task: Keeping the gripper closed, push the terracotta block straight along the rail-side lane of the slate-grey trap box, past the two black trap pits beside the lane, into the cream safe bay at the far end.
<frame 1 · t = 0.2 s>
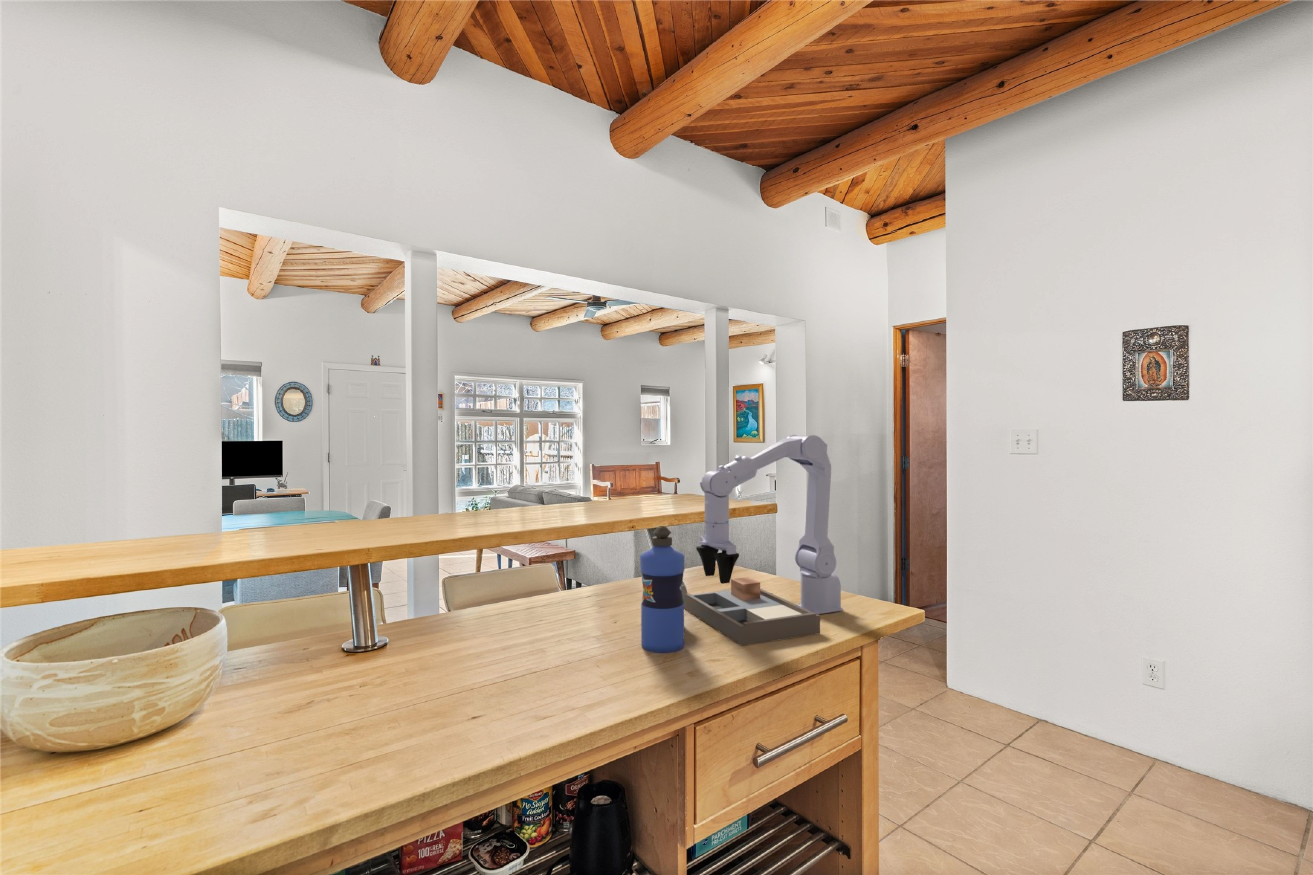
hand: (717, 579, 143), 10 cm above the worktop, tool pointing down, fingers open, 7 cm apart
food container: (674, 627, 139), on the worktop
water bottle: (662, 646, 128), on the worktop
trap box: (746, 619, 144), on the worktop
block: (745, 596, 153), point 3 cm above the worktop, touching trap box
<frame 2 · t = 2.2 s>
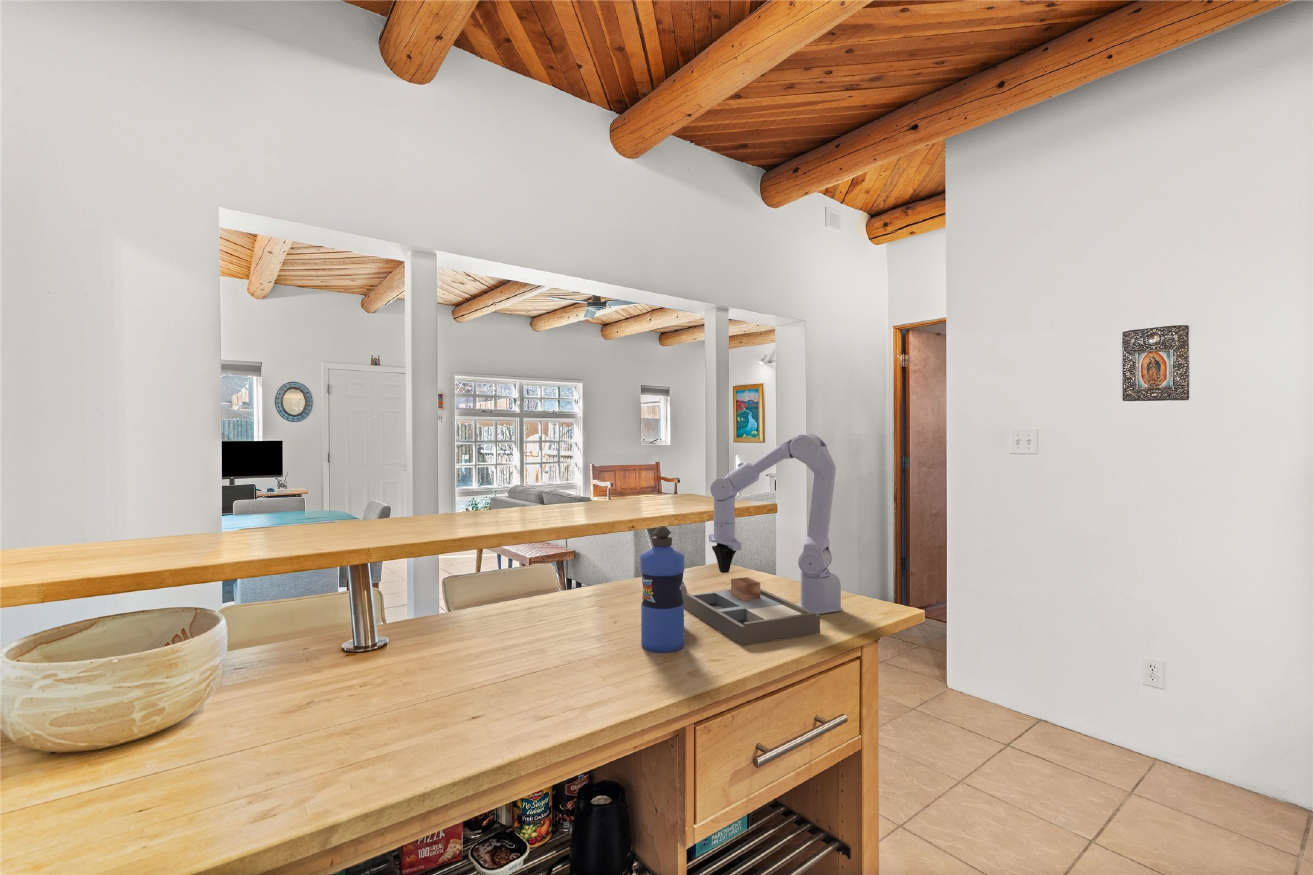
hand: (724, 572, 164), 7 cm above the worktop, tool pointing down, fingers closed
nothing on the worktop moved.
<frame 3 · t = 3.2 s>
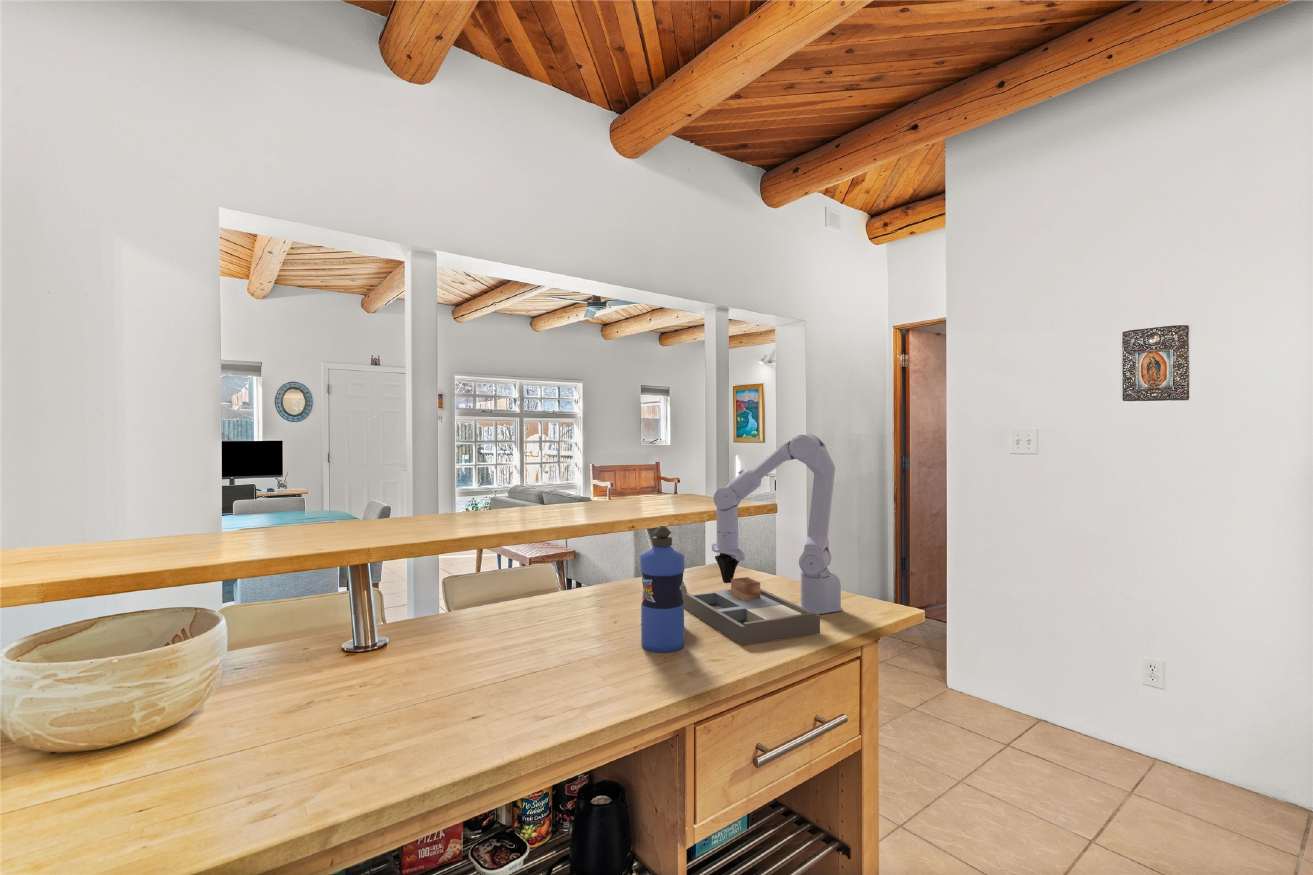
hand: (727, 582, 162), 4 cm above the worktop, tool pointing down, fingers closed
nothing on the worktop moved.
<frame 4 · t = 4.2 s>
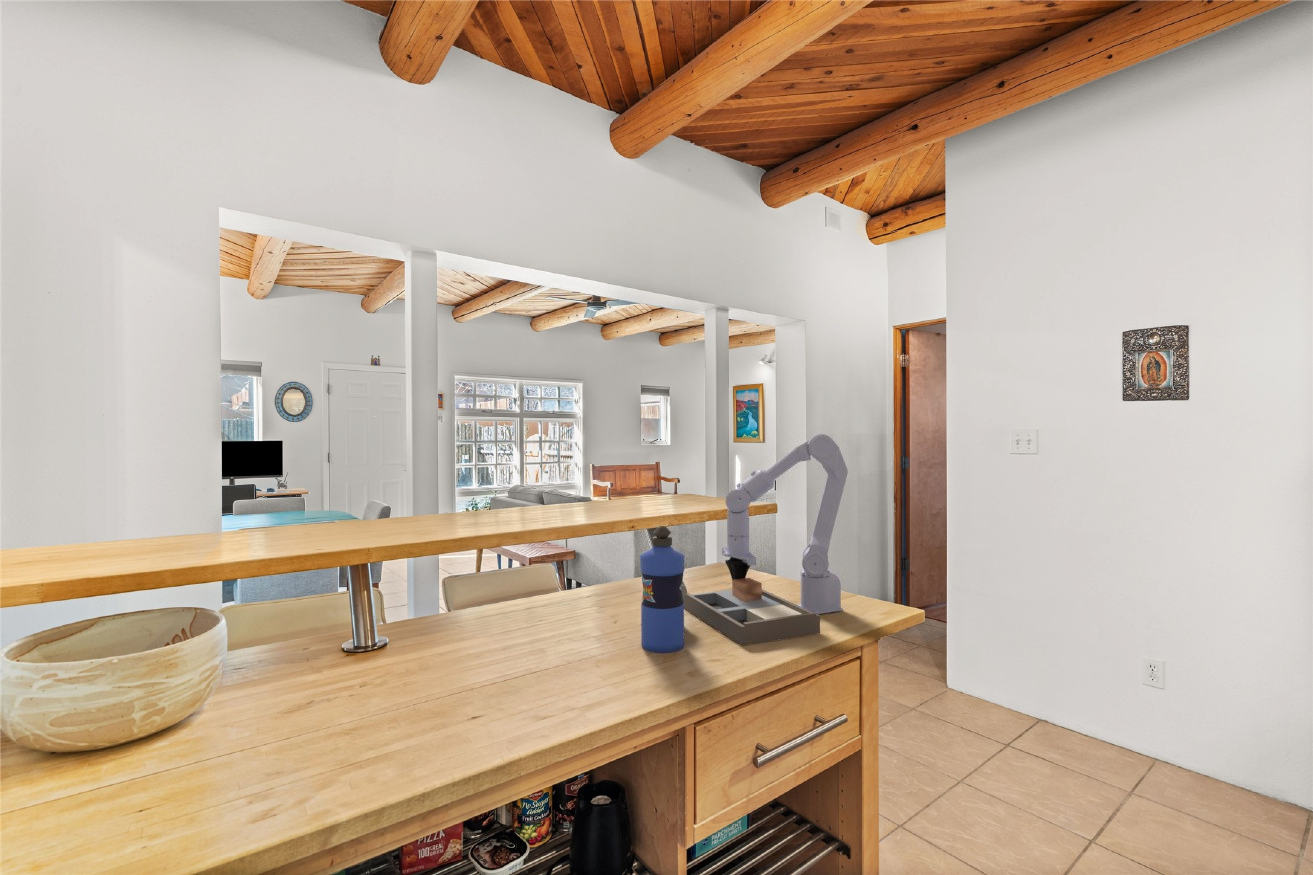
hand: (738, 587, 157), 4 cm above the worktop, tool pointing down, fingers closed
block: (746, 597, 153), point 3 cm above the worktop, touching gripper
everything else where it was.
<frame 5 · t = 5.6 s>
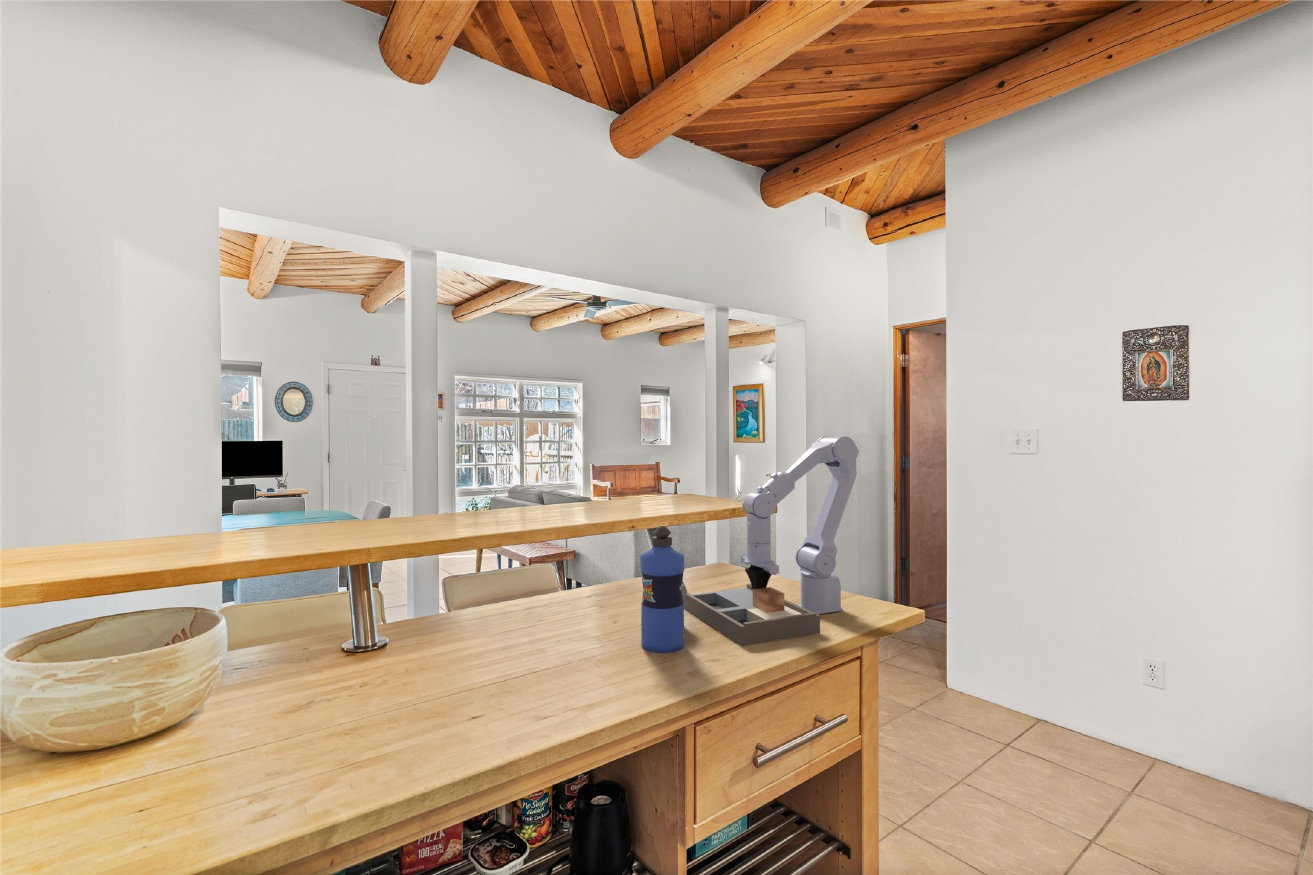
hand: (759, 597, 147), 4 cm above the worktop, tool pointing down, fingers closed
block: (768, 607, 143), point 3 cm above the worktop, touching gripper, trap box
everything else where it was.
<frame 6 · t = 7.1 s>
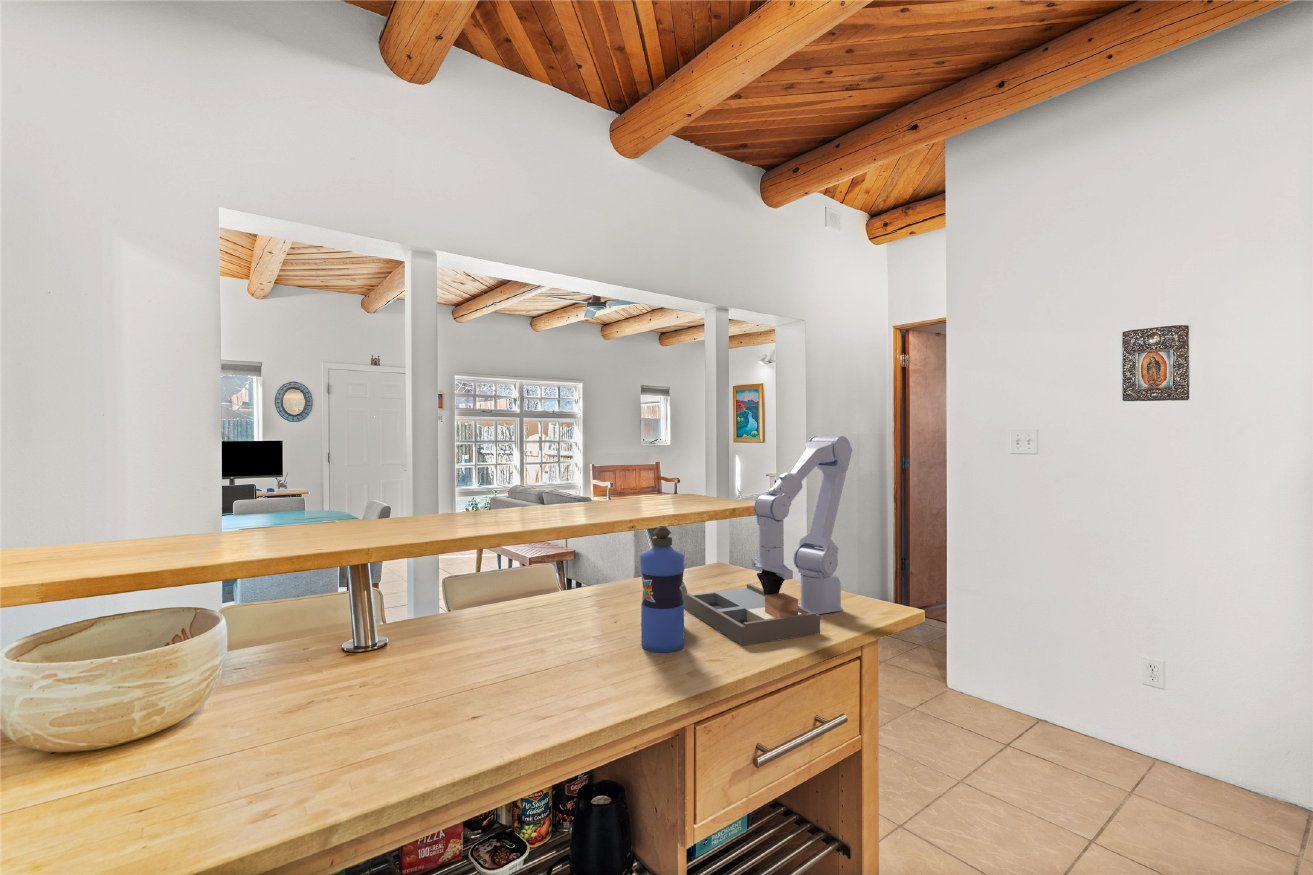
hand: (771, 603, 142), 4 cm above the worktop, tool pointing down, fingers closed
block: (781, 614, 138), point 3 cm above the worktop, touching gripper, trap box
everything else where it was.
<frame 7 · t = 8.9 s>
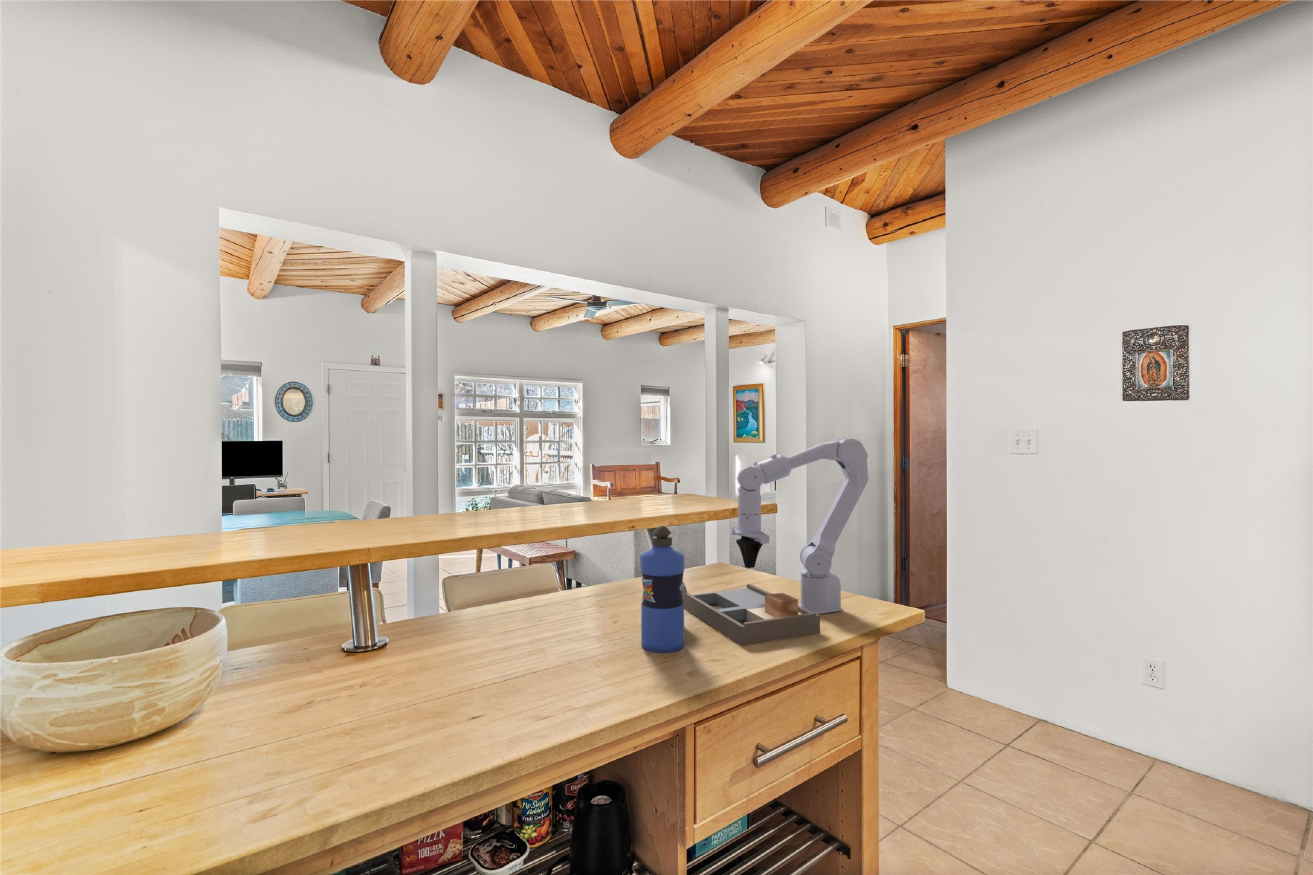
hand: (749, 567, 153), 10 cm above the worktop, tool pointing down, fingers closed
block: (781, 614, 138), point 3 cm above the worktop, touching trap box
everything else where it was.
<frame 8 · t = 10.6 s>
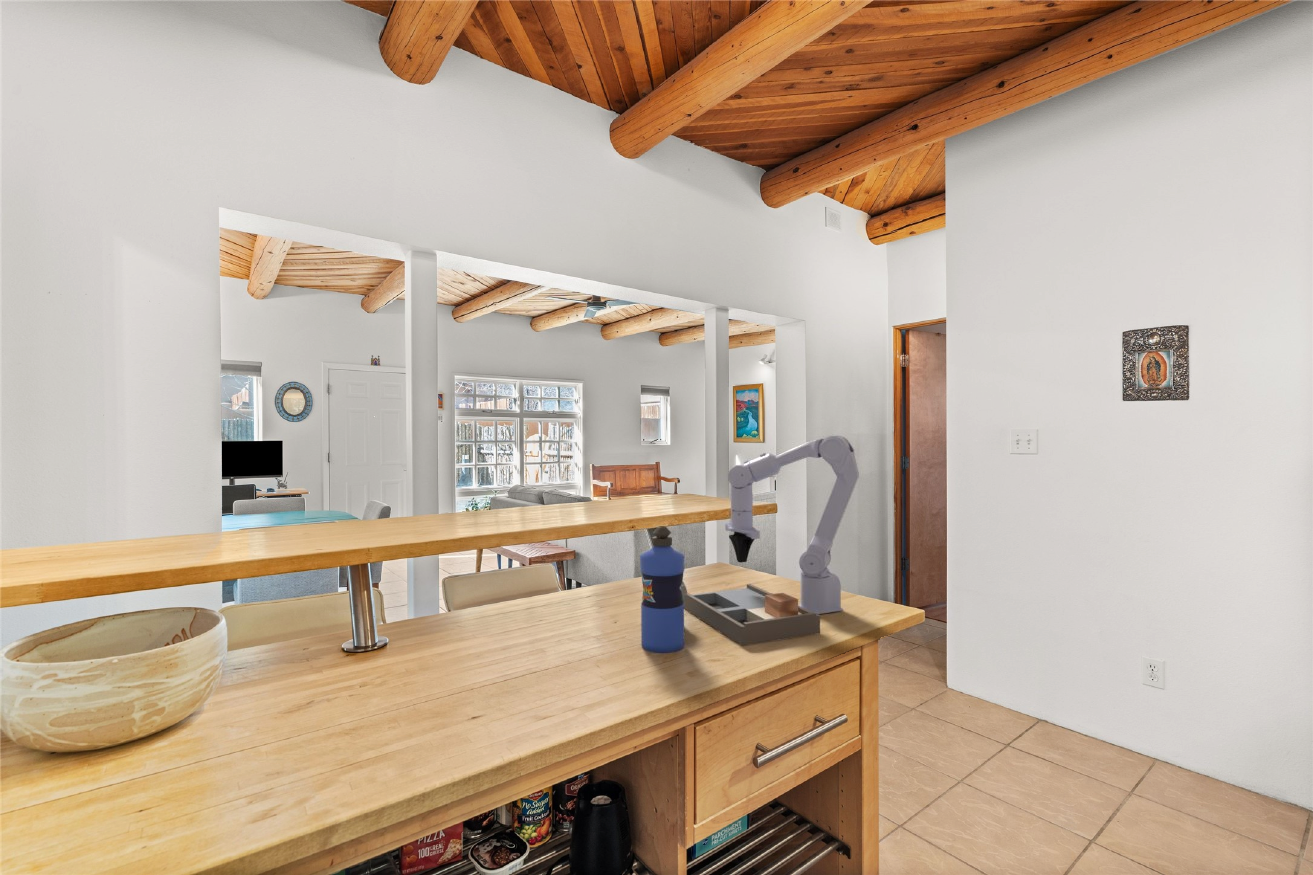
hand: (741, 561, 160), 10 cm above the worktop, tool pointing down, fingers closed
nothing on the worktop moved.
at the end: block inside the target area (0.4 cm from its centre), point 3.0 cm above the worktop; block tilted 0°; block moved 16.3 cm from its start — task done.
